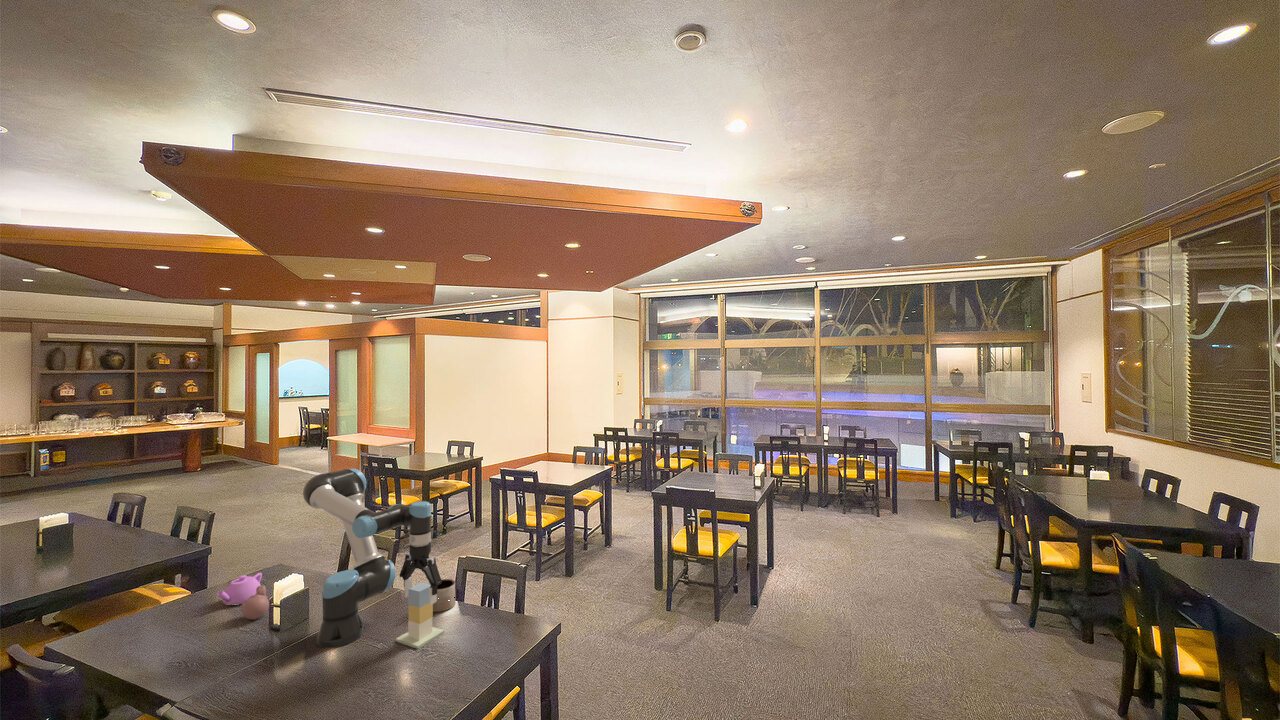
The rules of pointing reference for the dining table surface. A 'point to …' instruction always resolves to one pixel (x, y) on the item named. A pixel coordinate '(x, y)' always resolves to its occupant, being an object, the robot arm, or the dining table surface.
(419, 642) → the baseplate
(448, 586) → the planter
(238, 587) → the teapot
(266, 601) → the figurine
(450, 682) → the dining table surface
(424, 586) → the blue brick
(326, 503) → the robot arm
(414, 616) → the ochre brick
